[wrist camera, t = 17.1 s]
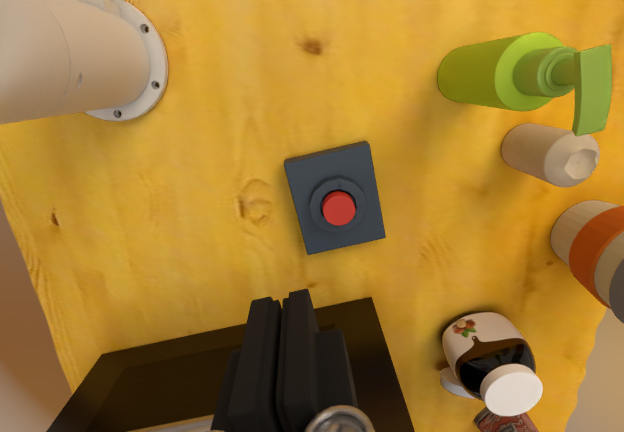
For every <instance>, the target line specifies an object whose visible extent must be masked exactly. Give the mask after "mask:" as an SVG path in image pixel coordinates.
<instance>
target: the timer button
mask: <svg viewBox="0 0 624 432" xmlns="http://www.w3.org/2000/svg"><path fill="white" fill-rule="evenodd" d="M323 213H324V217H325V219H326V220H327V221H328V222H329V223H331V224H333V225H338V226H340V225H345V224H347V223H348V222H350V221H351V220H352V219H353V217H354V215H355V205H354V203H353V201H352V198H351V197H350V196H349V195H348V194H347V193H345V192H341V191H336V192H332V193H330V194H329V195H327V196H326V198H325V199H324V201H323Z"/></svg>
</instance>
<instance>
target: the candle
mask: <svg viewBox="0 0 624 432" xmlns="http://www.w3.org/2000/svg"><path fill="white" fill-rule="evenodd" d="M501 154H502V157H503V159H504V161H505V162H506V163H507V164H508V165H509V166H511V167H513V168H515V169H517V170H520V171H522V172H524V173H527V174H529V175H532V176H534V177H536V178H539V179H541V180H543V181H546V182H548V183H551V184H553V185H556V186H558V187H571V186H575V185H577V184H579V183H581V182H583V181H584V180H586V179H587V178H588V177H589V176H590V175H591V174H592V172H593V171H594V170H595V168H596V166H597V164H598V161H599V156H600V150H599V146H598V143H597V142H596V140H595V139H594V138H593V137H592V136H590V135H588V134H586V135H582V136H578V137H576V136H575V135H574V133H573V131H570V130H565V129H560V128H555V127H549V126H544V125H539V124H533V123H526V124H521V125H518V126H516V127H515V128H513V129H512V130H511V131H510V132H509V133H508V134H507V135H506V137H505V138H504V140H503V143H502V146H501Z"/></svg>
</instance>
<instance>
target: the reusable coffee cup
mask: <svg viewBox="0 0 624 432" xmlns="http://www.w3.org/2000/svg"><path fill="white" fill-rule="evenodd" d="M551 246H552V249H553V250H554V252H555V254H557V255H558V256H559V257H560V258H561V259H562V260H563V261H564V262H565V263H566V264H567V265H568V266H569V267H570V270H571V272H572V274H573V275H574V277H575V278H576V279H577V280H578V281H579V282H580V283H581V284H582V285H583V286H584V287H585V288H586V289H587V290H588V291H589V292H590V293H591V294H592V295H593V296H594V297H595V298H596V299H597V300H598V301H599V302H600V303H601V304H603V305H604V306H606V307H608V308H610V309H612V311H613V312H614V314H615V316H616V317H617V318H618V319H619V320H620V321H621V322H623V323H624V206H620V205H616V204H612V203H607V202H603V201H598V200H590V201H584V202H580V203H578V204H576V205H574V206H572V207H571V208H569V209H567V210H566V211H565V212H564V213H563V214H562V215H561V216H560V217H559V218H558V220H557V221H556V223H555V225H554V227H553V229H552V232H551Z"/></svg>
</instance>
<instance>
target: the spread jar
mask: <svg viewBox="0 0 624 432" xmlns="http://www.w3.org/2000/svg"><path fill="white" fill-rule="evenodd" d="M442 344H443V350H444V353H445V356H446V359H447V361H448V363H449V365H450V367H447V368H444V369H443V370H441V373H440V383H441V385H442V386H443V387H444V388H445V389H446V390H448V391H449V392H451V393H453V394H456V395H459V396H462V397H467V398H474V399H479V400H482V401H484V402H485V404H486V406H487V408H488V409H489V410H490V411H491V412H493V413H495V414H497V415H501V416H515V415H519V414H522V413H524V412H526V411H528V410H530V409H531V408H532V407H534V406H535V405H536V404H537V403H538V401H539V400H540V398H541V396H542V392H543V386H542V383H541V381H540V380H539V379H538V377H537V376H536V375H535V374H536V365H535V359H534V355H533V353H532V351H531V348H530V346H529V345H528V343H527V341H526V340H525V338H524V337H523V336H522V335H521V333H520V332H519V331H518V330H517V329H516V328H515V326H514V325H513V324H512V323H511V322H510V321H509V320H508V319H507V318H505V317H504V316H502V315H500V314H498V313H495V312H490V311H472V312H467V313H464V314H462V315H460V316H458V317H457V318H455V319H454V320H453V321H452V322H451V323H450V324H449V325H448V326H447V327H446V329H445V331H444V333H443V337H442Z"/></svg>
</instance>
